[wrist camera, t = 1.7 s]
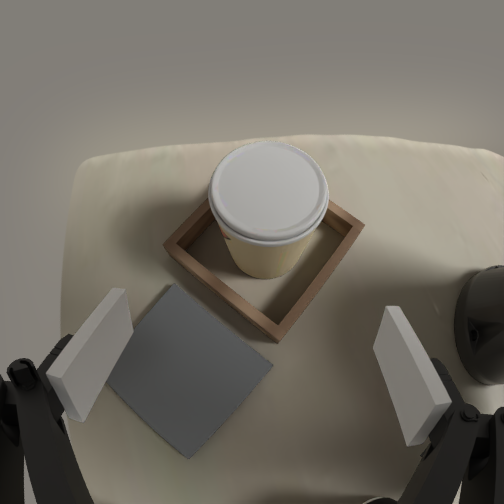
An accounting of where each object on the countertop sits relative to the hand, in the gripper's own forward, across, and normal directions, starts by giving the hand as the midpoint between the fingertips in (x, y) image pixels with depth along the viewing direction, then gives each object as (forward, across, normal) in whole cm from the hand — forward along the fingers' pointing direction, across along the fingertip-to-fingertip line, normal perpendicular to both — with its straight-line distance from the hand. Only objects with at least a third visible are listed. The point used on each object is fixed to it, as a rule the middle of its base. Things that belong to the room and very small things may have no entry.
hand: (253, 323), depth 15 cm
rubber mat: (+9, -7, -14) cm, 18 cm away
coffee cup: (+19, 0, -4) cm, 20 cm away
